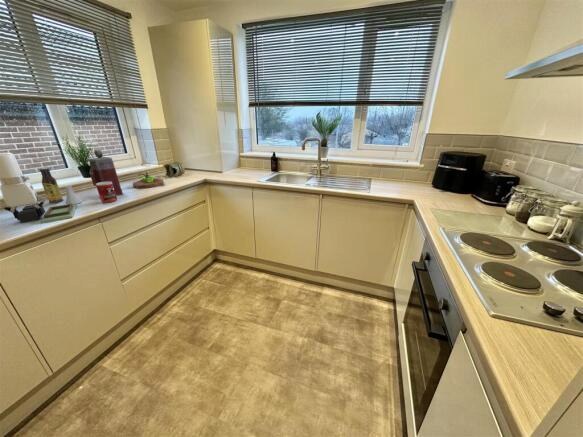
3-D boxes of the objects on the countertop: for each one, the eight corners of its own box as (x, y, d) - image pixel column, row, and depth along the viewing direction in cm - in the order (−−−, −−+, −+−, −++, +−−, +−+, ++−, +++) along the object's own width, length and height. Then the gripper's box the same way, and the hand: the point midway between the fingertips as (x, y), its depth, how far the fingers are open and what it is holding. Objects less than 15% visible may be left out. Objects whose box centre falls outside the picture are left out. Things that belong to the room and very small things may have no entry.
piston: (165, 177, 200) (161, 163, 196) (175, 174, 210) (172, 161, 206) (176, 178, 197) (173, 164, 192) (185, 175, 207) (183, 161, 203)
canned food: (105, 204, 136) (99, 185, 131) (99, 202, 140) (92, 183, 135) (120, 200, 142) (114, 182, 137) (113, 198, 146) (108, 180, 141)
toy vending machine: (96, 197, 150) (80, 151, 139) (115, 192, 159) (102, 148, 148) (103, 198, 145) (87, 151, 135) (123, 194, 154) (109, 149, 144)
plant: (136, 190, 163) (132, 173, 159) (131, 185, 177) (127, 170, 173) (167, 184, 175) (164, 169, 171) (160, 180, 189) (157, 166, 185)
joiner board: (41, 223, 110) (38, 218, 110) (50, 210, 127) (48, 205, 126) (72, 217, 116) (70, 212, 115) (77, 206, 133) (75, 201, 132)
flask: (63, 204, 137) (56, 187, 133) (77, 200, 143) (71, 184, 139) (70, 205, 134) (63, 188, 130) (85, 201, 140) (79, 185, 136)
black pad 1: (26, 217, 118) (22, 209, 116) (29, 214, 123) (25, 205, 121) (42, 214, 121) (39, 206, 120) (45, 211, 126) (41, 203, 124)
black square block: (21, 223, 111) (16, 214, 110) (24, 219, 116) (20, 210, 114) (38, 220, 114) (34, 211, 113) (41, 216, 119) (37, 208, 117)
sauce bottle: (46, 203, 140) (32, 169, 132) (57, 199, 145) (44, 167, 138) (55, 203, 139) (41, 169, 131) (66, 200, 144) (53, 167, 137)
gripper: (41, 176, 115) (56, 211, 122) (-12, 182, 106) (7, 219, 113) (37, 179, 110) (53, 215, 116) (-19, 185, 100) (1, 224, 107)
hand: (30, 217), depth 115 cm, fingers open, 6 cm apart
